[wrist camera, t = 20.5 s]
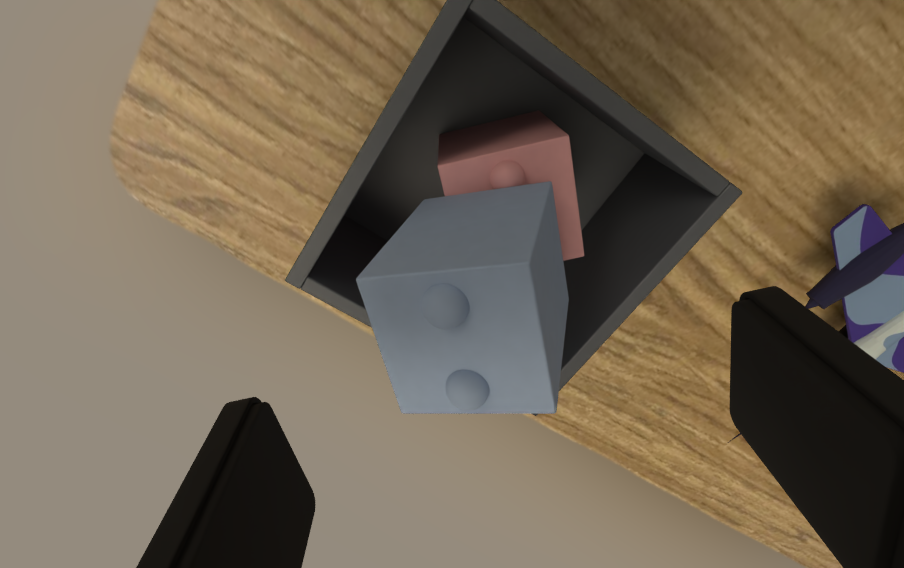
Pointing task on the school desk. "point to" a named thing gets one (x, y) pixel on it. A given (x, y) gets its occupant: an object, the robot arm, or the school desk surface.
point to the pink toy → (515, 165)
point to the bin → (593, 155)
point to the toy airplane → (867, 285)
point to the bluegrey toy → (472, 303)
